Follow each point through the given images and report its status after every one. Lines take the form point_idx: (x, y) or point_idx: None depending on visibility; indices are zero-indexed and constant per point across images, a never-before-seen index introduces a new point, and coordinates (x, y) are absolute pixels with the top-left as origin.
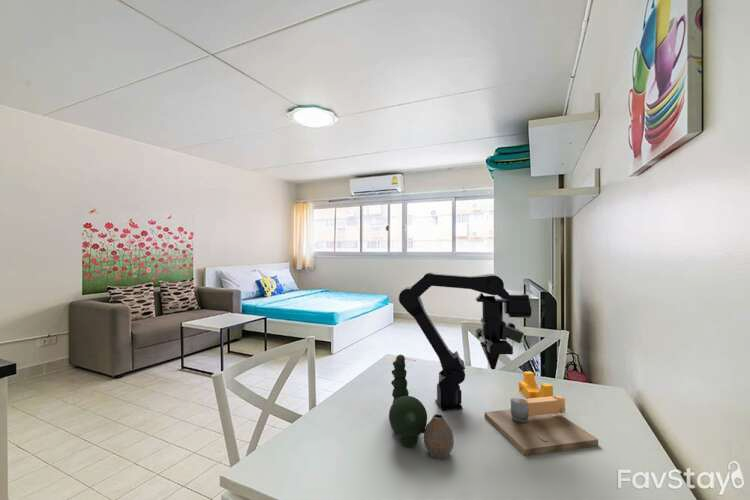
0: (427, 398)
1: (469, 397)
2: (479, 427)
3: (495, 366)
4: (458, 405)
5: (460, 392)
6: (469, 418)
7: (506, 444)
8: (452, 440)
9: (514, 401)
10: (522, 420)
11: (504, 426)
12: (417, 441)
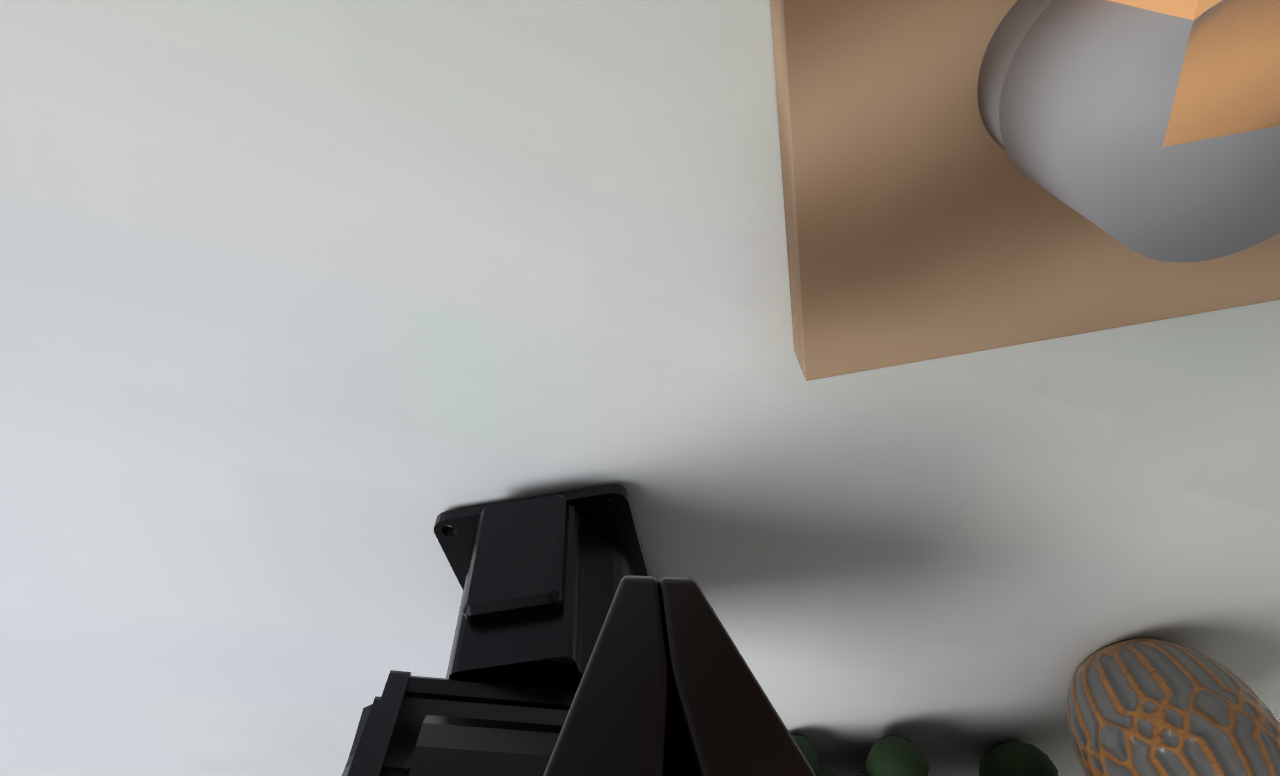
0: (438, 658)
1: (350, 374)
2: (942, 430)
3: (732, 644)
4: (590, 515)
5: (561, 588)
6: (788, 464)
7: (1245, 312)
8: (1272, 719)
9: (1198, 213)
10: None
11: (1116, 288)
12: (1040, 755)
